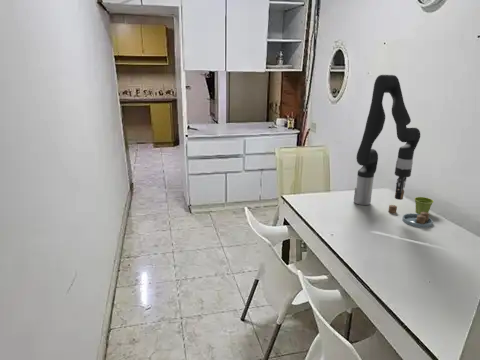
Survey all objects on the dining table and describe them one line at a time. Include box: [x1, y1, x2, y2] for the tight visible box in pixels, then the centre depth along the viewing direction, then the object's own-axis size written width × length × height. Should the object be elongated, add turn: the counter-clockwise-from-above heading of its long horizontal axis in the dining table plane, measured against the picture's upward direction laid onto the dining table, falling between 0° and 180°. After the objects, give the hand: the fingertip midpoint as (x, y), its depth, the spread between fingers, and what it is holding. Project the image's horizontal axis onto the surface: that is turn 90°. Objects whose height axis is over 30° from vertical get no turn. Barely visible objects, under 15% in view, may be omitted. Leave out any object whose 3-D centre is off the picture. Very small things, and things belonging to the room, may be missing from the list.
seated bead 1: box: [416, 215, 426, 224], centre depth 177 cm, size 4×4×4 cm
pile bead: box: [388, 204, 398, 214], centre depth 193 cm, size 4×4×4 cm
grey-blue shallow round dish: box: [402, 213, 434, 228], centre depth 181 cm, size 14×14×3 cm
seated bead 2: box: [420, 212, 430, 223], centre depth 181 cm, size 4×4×4 cm
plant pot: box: [414, 196, 435, 214], centre depth 191 cm, size 9×9×9 cm
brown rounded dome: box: [394, 189, 405, 200], centre depth 181 cm, size 4×4×4 cm
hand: (398, 197), depth 182 cm, fingers closed on brown rounded dome, 4 cm apart
